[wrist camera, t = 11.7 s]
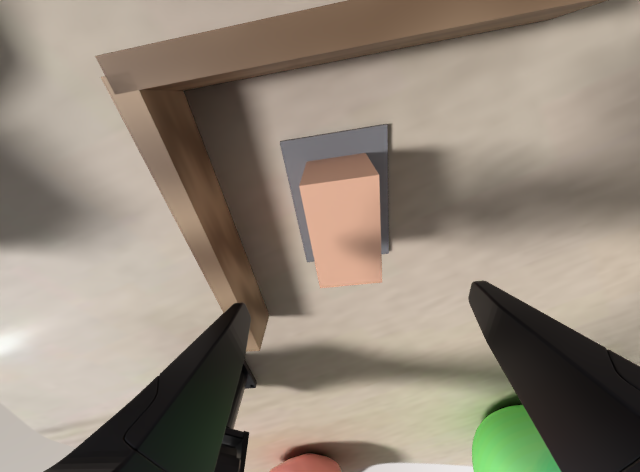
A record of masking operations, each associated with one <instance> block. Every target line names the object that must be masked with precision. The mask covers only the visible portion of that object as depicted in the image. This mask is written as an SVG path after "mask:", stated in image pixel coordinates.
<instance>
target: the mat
mask: <svg viewBox="0 0 640 472" xmlns="http://www.w3.org/2000/svg"><path fill="white" fill-rule="evenodd" d="M280 145H281V150H282V154H283V159H284V163H285V167H286V172H287V176H288V181H289V185H290V189H291V194H292V198H293V202H294V207H295V211H296V216H297V220H298V224H299V229H300V233H301V238H302V242H303V246H304V251H305V255H306V260H307V262H313V261H314V256H313V251H312V246H311V241H310V236H309V231H308V227H307V222H306V217H305V212H304V207H303V202H302V197H301V193H300V188H299V185H300V182H301V178H302V175H303V172H304V169H305V166H306V162H307V161H314V160H321V159H327V158H334V157H341V156H347V155H354V154H361V153H366V154H367V156H368V158H369V159H370V161H371V162H372V164H373V166H374V167H375V169H376V170H377V172H378V174H379V185H380V222H381V254H388V253H389V234H388V130H387V124H383V125H377V126H371V127H365V128H359V129H353V130H346V131H340V132H334V133H328V134H322V135H316V136H310V137H304V138H297V139H291V140H285V141H280Z"/></svg>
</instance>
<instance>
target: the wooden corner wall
mask: <svg viewBox="0 0 640 472" xmlns="http://www.w3.org/2000/svg"><path fill="white" fill-rule="evenodd" d="M604 1H607V0H348V1H343V2H339V3H334V4H330V5H325V6H320V7H316V8H311V9H307V10H302V11H298V12H293V13H289V14H284V15H280V16H275V17H270V18H266V19H261V20H257V21H252V22H248V23H243V24H239V25H234V26H229V27H225V28H220V29H216V30H211V31H207V32H202V33H198V34H193V35H188V36H184V37H179V38H175V39H170V40H166V41H161V42H157V43H152V44H147V45H143V46H138V47H134V48H129V49H125V50H120V51H116V52H111V53H107V54H102V55H97V56H95V57H96V58H97V60H98V62H99V64H100V66H101V68H102V70H103V72H104V74H105V76H103V77H101V79H102V81H103V83H104V84H105V86H106V88H107V90H108V92H109V94H110V96H111V98H112V100H113V102H114V104H115V106H116V107H117V109H118V111H119V113H120V115H121V117H122V119H123V121H124V123H125V125H126V127H127V129H128V130H129V132H130V134H131V136H132V138H133V140H134V142H135V144H136V146H137V148H138V150H139V152H140V153H141V155H142V157H143V159H144V161H145V163H146V165H147V167H148V169H149V171H150V173H151V175H152V176H153V178H154V180H155V182H156V184H157V186H158V188H159V190H160V192H161V194H162V196H163V198H164V199H165V201H166V203H167V205H168V207H169V209H170V211H171V213H172V215H173V217H174V219H175V221H176V222H177V224H178V226H179V228H180V230H181V232H182V234H183V236H184V238H185V240H186V242H187V244H188V245H189V247H190V249H191V251H192V253H193V255H194V257H195V259H196V261H197V263H198V265H199V267H200V268H201V270H202V272H203V274H204V276H205V278H206V280H207V282H208V284H209V286H210V288H211V290H212V291H213V293H214V295H215V297H216V299H217V301H218V303H219V305H220V307H221V309H222V311H223V313H224V312H225V311H226V310H227V309H228V308H230V307H231V306H232V305H233V304H234V303H241V302H243V303H245V305H246V307H247V309H248V311H249V313H250V316H251V323H250V329H249V335H248V342H247V348H246V352H247V351H260V348H261V344H262V340H263V337H264V333H265V329H266V325H267V322H268V318H269V313H268V311H267V308H266V305H265V303H264V300H263V298H262V295H261V292H260V290H259V287H258V285H257V282H256V279H255V277H254V274H253V271H252V269H251V266H250V264H249V261H248V258H247V256H246V253H245V251H244V248H243V245H242V243H241V240H240V238H239V235H238V232H237V230H236V227H235V225H234V222H233V219H232V217H231V214H230V211H229V209H228V206H227V204H226V201H225V198H224V196H223V193H222V191H221V188H220V185H219V183H218V180H217V178H216V175H215V172H214V170H213V167H212V165H211V162H210V159H209V157H208V154H207V151H206V149H205V146H204V144H203V141H202V138H201V136H200V133H199V131H198V128H197V125H196V123H195V120H194V118H193V115H192V112H191V110H190V107H189V105H188V102H187V99H186V97H185V94H184V92H183V91H184V90H189V89H195V88H200V87H205V86H210V85H215V84H220V83H225V82H231V81H236V80H241V79H246V78H251V77H256V76H262V75H267V74H272V73H277V72H282V71H287V70H292V69H298V68H303V67H308V66H313V65H318V64H323V63H328V62H334V61H339V60H344V59H349V58H354V57H359V56H364V55H370V54H375V53H380V52H385V51H390V50H395V49H401V48H406V47H411V46H416V45H421V44H426V43H431V42H437V41H442V40H447V39H452V38H457V37H462V36H467V35H473V34H478V33H483V32H488V31H493V30H498V29H503V28H509V27H514V26H519V25H524V24H529V23H534V22H540V21H545V20H550V19H553V18H556V17H559V16H562V15H565V14H568V13H571V12H574V11H577V10H580V9H583V8H586V7H589V6H592V5H595V4H598V3H601V2H604Z"/></svg>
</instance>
